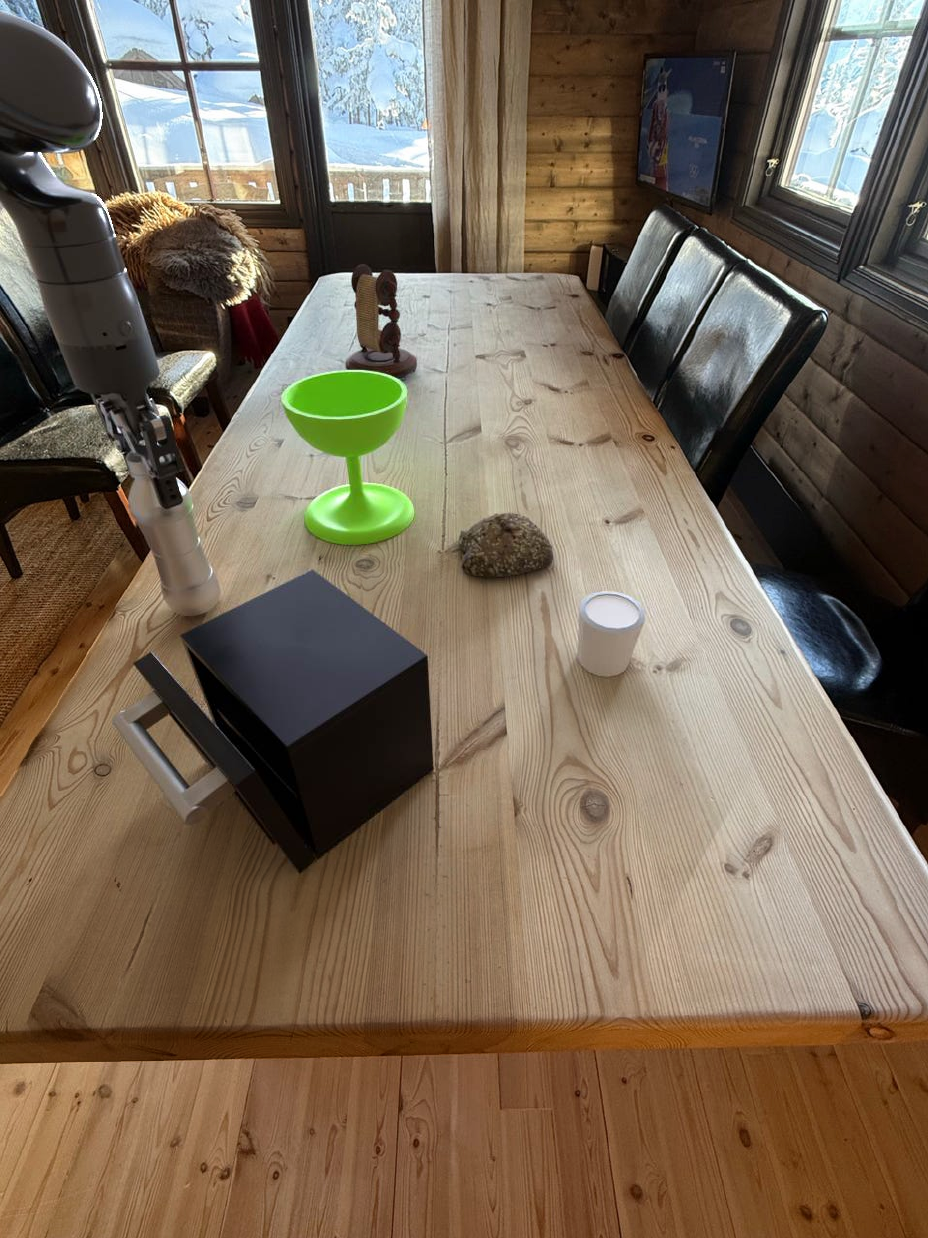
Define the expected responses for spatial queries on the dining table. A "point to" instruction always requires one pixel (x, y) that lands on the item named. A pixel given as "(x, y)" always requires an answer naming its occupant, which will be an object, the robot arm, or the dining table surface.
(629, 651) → the white cylindrical container
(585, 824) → the dining table surface
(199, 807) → the oven door
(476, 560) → the bread roll
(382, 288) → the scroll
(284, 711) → the oven
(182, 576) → the silver bottle
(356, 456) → the wineglass
